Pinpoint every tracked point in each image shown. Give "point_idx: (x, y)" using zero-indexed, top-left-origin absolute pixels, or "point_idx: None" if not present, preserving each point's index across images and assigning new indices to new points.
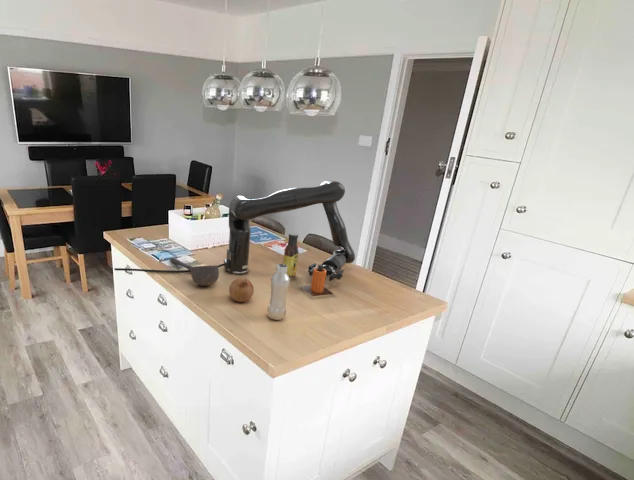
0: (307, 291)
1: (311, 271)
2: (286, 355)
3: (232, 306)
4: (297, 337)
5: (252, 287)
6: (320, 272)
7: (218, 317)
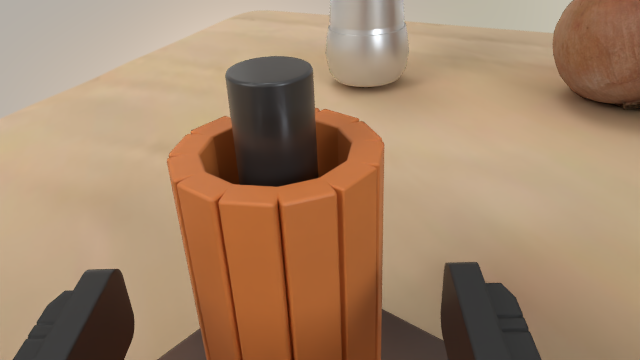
0: None
1: (452, 263)
2: (240, 23)
3: None
4: (237, 56)
5: (576, 18)
6: None
7: (529, 35)
